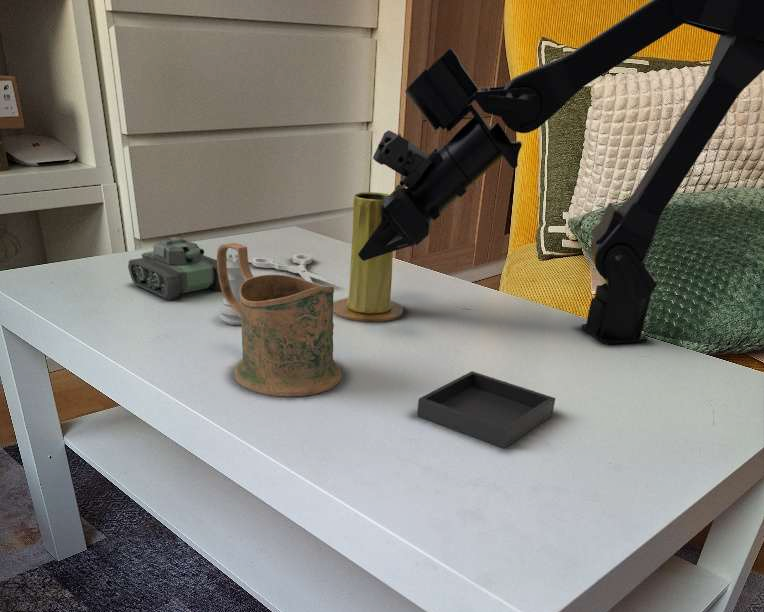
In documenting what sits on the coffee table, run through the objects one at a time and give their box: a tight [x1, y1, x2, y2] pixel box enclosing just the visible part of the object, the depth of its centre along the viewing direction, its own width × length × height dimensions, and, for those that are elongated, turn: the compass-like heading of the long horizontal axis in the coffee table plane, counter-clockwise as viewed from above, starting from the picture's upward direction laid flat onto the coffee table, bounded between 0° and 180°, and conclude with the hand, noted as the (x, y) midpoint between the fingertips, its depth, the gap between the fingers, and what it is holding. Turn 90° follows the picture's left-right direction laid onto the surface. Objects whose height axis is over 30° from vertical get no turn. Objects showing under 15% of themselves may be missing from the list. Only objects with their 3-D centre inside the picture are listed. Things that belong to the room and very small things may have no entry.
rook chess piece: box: [219, 253, 245, 326], centre depth 92 cm, size 4×4×8 cm
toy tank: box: [127, 236, 222, 301], centre depth 103 cm, size 10×12×7 cm
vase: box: [347, 191, 394, 314], centre depth 97 cm, size 6×6×14 cm
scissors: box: [248, 253, 340, 287], centre depth 113 cm, size 11×1×20 cm
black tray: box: [416, 370, 556, 449], centre depth 74 cm, size 10×10×2 cm
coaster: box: [333, 297, 404, 323], centre depth 101 cm, size 10×10×1 cm
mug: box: [216, 242, 342, 397], centre depth 79 cm, size 12×18×12 cm, turn 44°
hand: (366, 249), depth 96 cm, fingers open, 9 cm apart
